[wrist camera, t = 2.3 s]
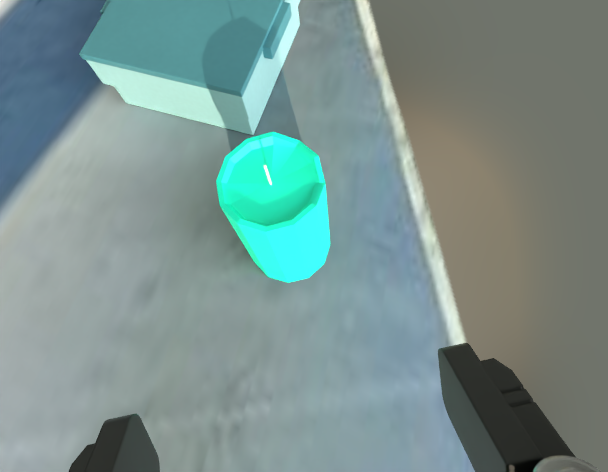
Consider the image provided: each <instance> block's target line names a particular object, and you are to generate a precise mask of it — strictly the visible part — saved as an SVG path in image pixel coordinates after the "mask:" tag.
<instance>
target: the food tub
mask: <svg viewBox="0 0 608 472" xmlns="http://www.w3.org/2000/svg"><path fill="white" fill-rule="evenodd" d="M299 2H300V0H107V1H106V3H105V4H104V6H103V8H102V9H101V11H100V12H101V14H102V16H101V18H100V19H99V21H98V23H97V24H96V26H95V28H94V29H93V31H92V33H91V34H90V36H89V38H88V40H87V41H86V43H85V45H84V46H83V48H82V50H81V51H80V53H79V54H80V56H81V57H82V58H83V59H84V60H86V61H87V62H88V63H89V65H90V66H91V67H92V69H93V70H94V72H95V73H96V74H97V76H98V77H99V78H100V80H101V81H102V82H103V83H104V84H108V85H112V86H114V87H115V88H116V90H117V91H118V92H119V94H120V95H121V97H122V98H123V99H124V101H125V102H126V103H128V104H132V105H136V106H140V107H144V108H148V109H152V110H156V111H160V112H163V113H167V114H171V115H175V116H179V117H183V118H187V119H191V120H195V121H199V122H203V123H207V124H211V125H215V126H219V127H223V128H227V129H231V130H234V131H238V132H242V133H246V134H250V135H254V132H255V130H256V128H257V125H258V123H259V120H260V118H261V116H262V113H263V111H264V109H265V106H266V104H267V101H268V99H269V97H270V94H271V92H272V90H273V87H274V85H275V82H276V80H277V78H278V75H279V73H280V71H281V68H282V66H283V63H284V61H285V59H286V56H287V54H288V52H289V49H290V47H291V44H292V42H293V40H294V37H295V35H296V32H297V30H298V28H299V25H300V22H299V13H298V5H299Z"/></svg>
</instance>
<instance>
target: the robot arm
mask: <svg viewBox="0 0 608 472" xmlns="http://www.w3.org/2000/svg"><path fill="white" fill-rule="evenodd" d="M438 358H439V368H440V378H441V387H442V395H443V400H444V404H445V407H446V410H447V413H448V416H449V418H450V420H451V422H452V424H453V426H454V428H455V430H456V433H457V435H458V437H459V439H460V441H461V443H462V445H463V447H464V449H465V451H466V453H467V455H468V457H469V459H470V462H471V464H472V466H473V468H474V470H475V472H601V471H600V470H598V469H597V468H596V467H594V466H593V465H591V464H590V463H588V462H585V461H584V460H581V459H578V458H576V457H575V455H574V454H573V453H572V452H571V451H570V449H569V448H568V446H567V445H566V444H565V443H564V441H563V440H562V438H561V437H560V436H559V434H558V433H557V431H556V430H555V429H554V427H553V426H552V425H551V423H550V422H549V421H548V419H547V418H546V417H545V415H544V414H543V412H542V411H541V410H540V408H539V407H538V405H537V404H536V403H535V402H533V399H532V397H531V396H530V395H529V393H528V392H527V390H526V389H524V388H523V385H522V384H521V382H520V381H519V379H518V378H517V377H516V376H515V374H514V373H513V371H512V370H511V369H509V368H508V367H506V366H504V365H503V364H502V363H500V362H499V361H497V360H496V359H494V358H493V359H488V360H483V361H480V360H479V358H478V357H477V355H476V354H475V352H474V351H473V349H472V348H471V346H470V345H469V344H468V343H463V344H459V345H454V346H449V347H445V348H440V349H439V350H438ZM69 472H160V466H159V459H158V455H157V453H156V450H155V448H154V446H153V444H152V442H151V440H150V438H149V435H148V433H147V431H146V429H145V427H144V425H143V423H142V420H141V418H140V417H139V416H138V415H137V414H132V415H127V416H122V417H118V418H113V419H108V420H106V421H105V422H104V424H103V426H102V428H101V431H100V433H99V435H98V438H97V440H96V443H95V444H91V445H87V446H86V448H85V449H84V450H83V451H82V452H81V454H80V455H79V456H78V457H77V459H76V460H75V461H74V462H73V463H72V465H71V467H70V470H69Z"/></svg>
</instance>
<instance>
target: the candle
mask: <svg viewBox="0 0 608 472" xmlns="http://www.w3.org/2000/svg"><path fill="white" fill-rule="evenodd" d="M216 184H217V191H218V197H219V204H220V207H221V209H222V210H223V212H224V213H225V215H226V217H227V218H228V220H229V222H230V223H231V225H232V226H233V228H234V230H235V231H236V233H237V235H238V236H239V238H240V240H241V241H242V243H243V244H244V246H245V248H246V249H247V251H248V253H249V254H250V256H251V257H252V259H253V261H254V262H255V263H256V264H257V266H258V267H259V268H260V269H261V270H262V271H263V272H264V273H265V274H266V275H267V276H268V277H270V278H274V279H277V280H281V281H284V282H288V283H289V282H293V281H297V280H301V279H305V278H309V277H310V276H311V275H312V274H313V273H315V272H316V271H317V270H318V269H319V268H320V267H321V266H322V265H323V264H324V263H325V260H326V257H327V253H328V250H329V247H330V234H329V222H328V210H327V198H326V186H325V180H324V176H323V172H322V168H321V164H320V160H319V156H318V155H317V154H316V153H315V152H313V151H312V150H311V149H310V148H308V147H307V146H306V145H305V144H303V143H302V142H301V141H299V140H296V139H293V138H290V137H287V136H285V135H282V134H279V133H276V132H269V133H266V134H262V135H259V136H255V137H252V138H248V139H246V140H244V141H243V142H242V143H241V144H240V145H239V146H237V147H236V148H235V149H234V150H233V151H231V152H230V153H229V154H228V155H227V156H226V157H225V159H224V162H223V165H222V167H221V170H220V173H219V175H218V178H217V181H216Z"/></svg>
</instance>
